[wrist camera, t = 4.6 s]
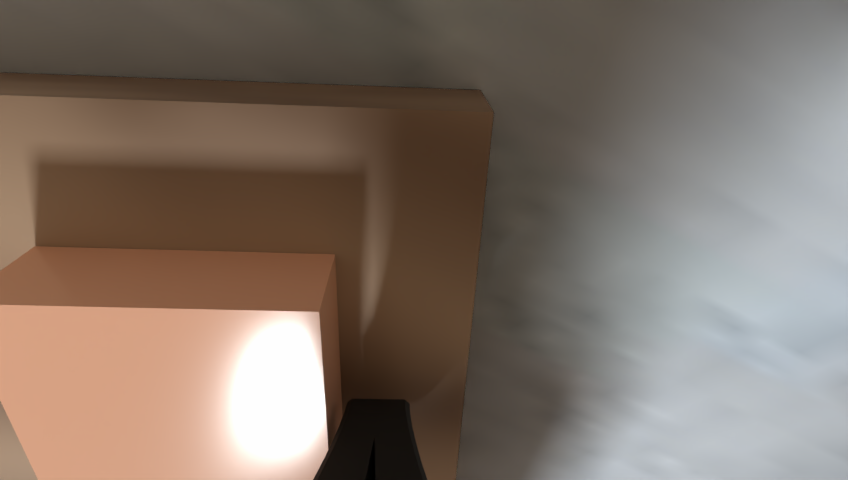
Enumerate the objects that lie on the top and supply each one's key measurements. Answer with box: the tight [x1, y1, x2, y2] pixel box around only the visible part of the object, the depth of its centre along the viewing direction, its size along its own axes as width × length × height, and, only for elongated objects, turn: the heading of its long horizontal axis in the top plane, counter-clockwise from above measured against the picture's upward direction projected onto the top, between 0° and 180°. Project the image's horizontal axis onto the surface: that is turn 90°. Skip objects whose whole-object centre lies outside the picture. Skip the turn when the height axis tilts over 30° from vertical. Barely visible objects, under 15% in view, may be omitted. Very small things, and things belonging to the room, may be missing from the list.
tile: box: [0, 246, 343, 480], centre depth 11 cm, size 8×6×2 cm
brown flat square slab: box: [0, 73, 494, 480], centre depth 13 cm, size 14×14×2 cm
